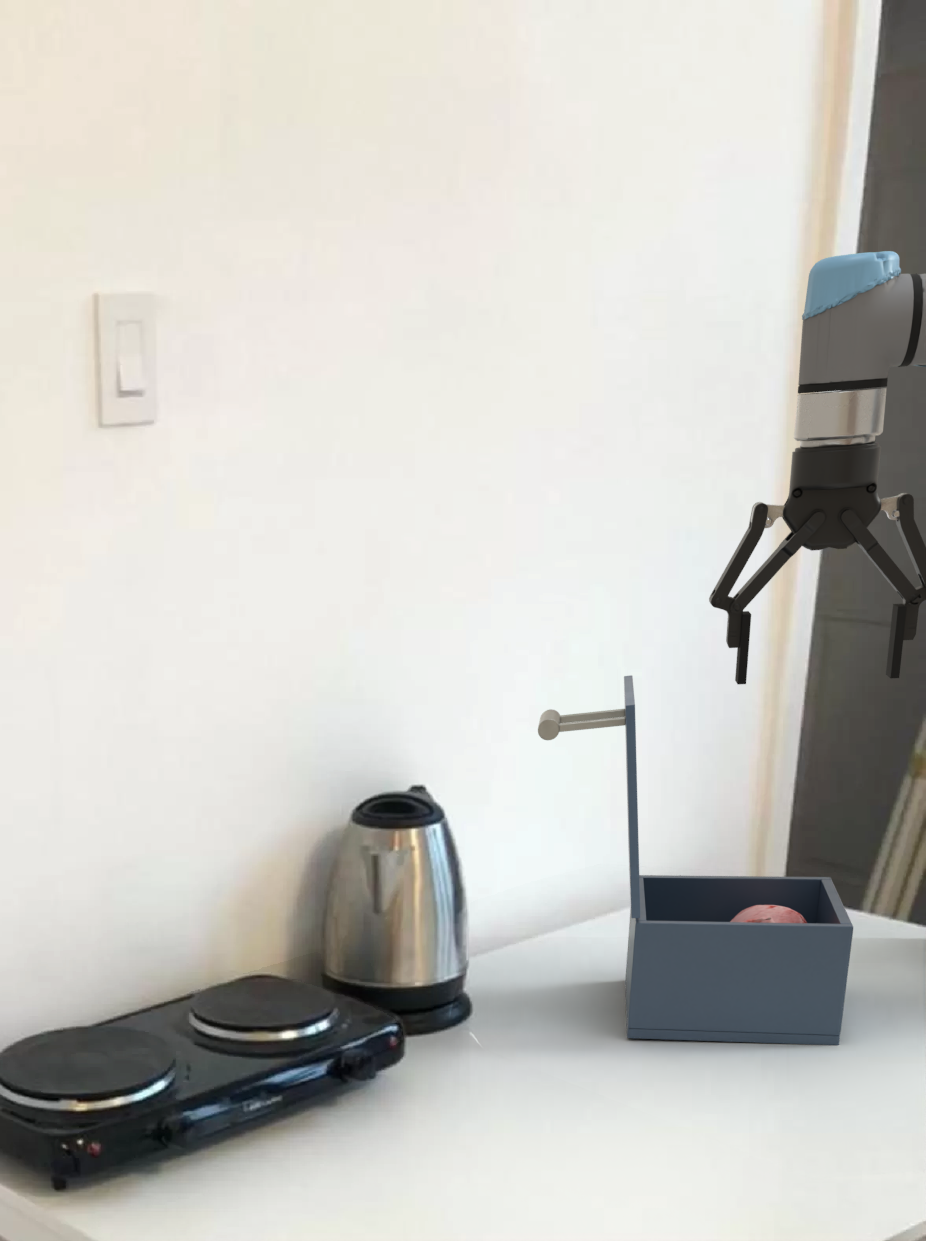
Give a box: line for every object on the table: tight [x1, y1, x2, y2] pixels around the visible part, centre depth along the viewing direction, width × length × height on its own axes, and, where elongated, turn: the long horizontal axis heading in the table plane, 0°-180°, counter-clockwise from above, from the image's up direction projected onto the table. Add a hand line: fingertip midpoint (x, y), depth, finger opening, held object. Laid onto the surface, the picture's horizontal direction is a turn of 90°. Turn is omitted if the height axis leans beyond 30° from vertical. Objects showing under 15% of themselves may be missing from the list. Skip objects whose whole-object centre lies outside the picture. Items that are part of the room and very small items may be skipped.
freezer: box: [624, 874, 854, 1046], centre depth 176 cm, size 19×19×12 cm
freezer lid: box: [537, 674, 640, 918], centre depth 174 cm, size 20×19×9 cm
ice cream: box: [730, 905, 807, 923], centre depth 178 cm, size 11×10×15 cm
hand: (815, 679), depth 172 cm, fingers open, 13 cm apart
